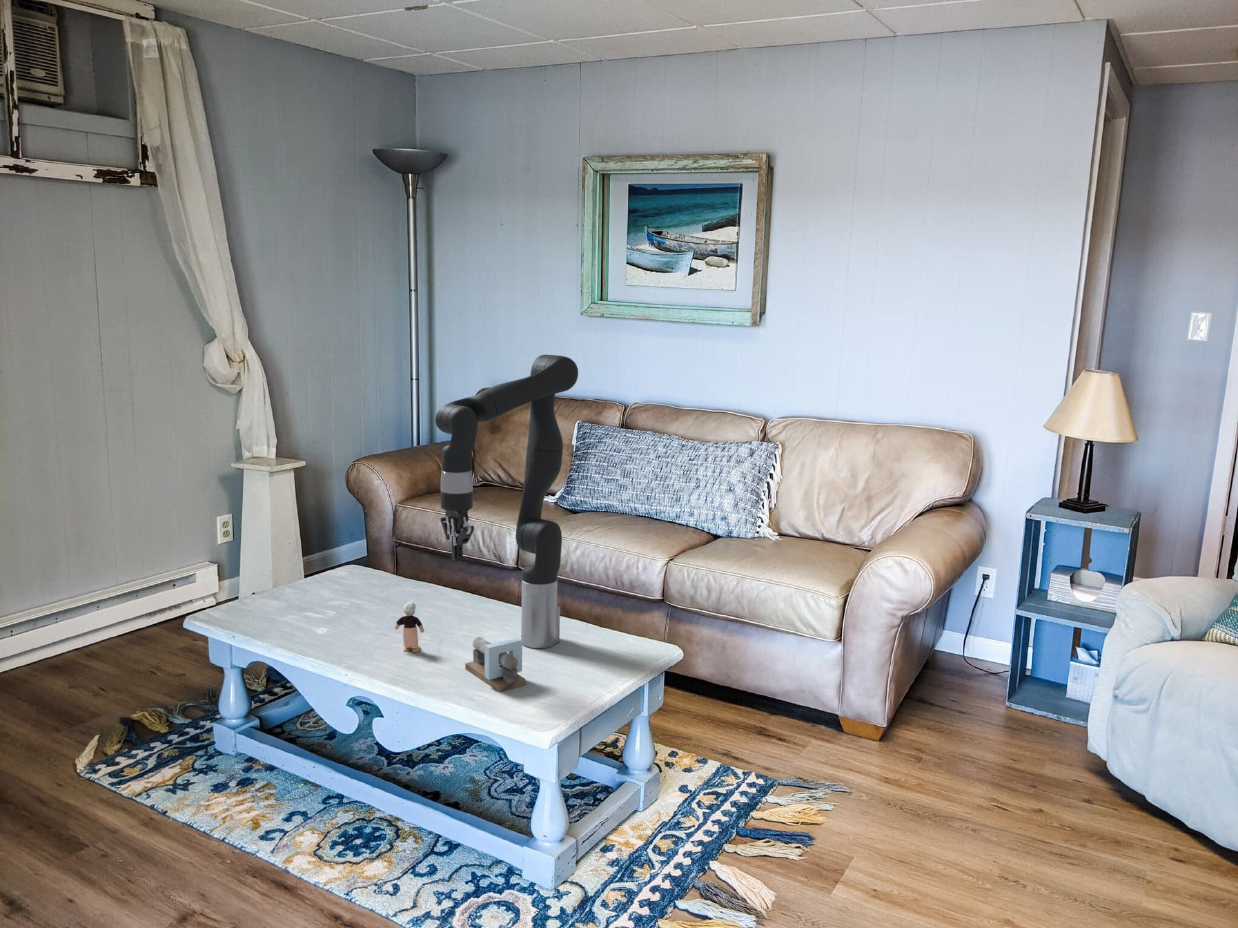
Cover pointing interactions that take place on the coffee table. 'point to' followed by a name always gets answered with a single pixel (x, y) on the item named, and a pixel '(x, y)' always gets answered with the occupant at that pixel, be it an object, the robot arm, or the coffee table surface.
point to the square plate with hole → (493, 653)
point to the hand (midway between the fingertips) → (457, 559)
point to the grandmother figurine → (410, 628)
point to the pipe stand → (505, 659)
